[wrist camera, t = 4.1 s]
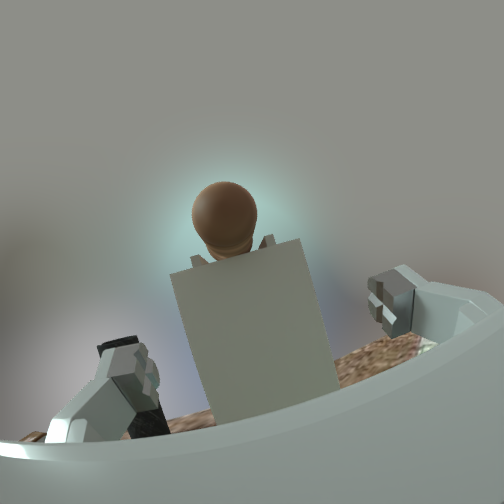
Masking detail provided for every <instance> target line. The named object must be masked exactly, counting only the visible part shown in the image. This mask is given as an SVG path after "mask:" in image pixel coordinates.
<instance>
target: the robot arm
mask: <svg viewBox="0 0 504 504" xmlns="http://www.w3.org/2000/svg"><path fill="white" fill-rule="evenodd" d="M368 289H369V290H370V291H371V294H370V296H369V297H368V306H369V310H370V313H371V315H372V317H373V318H374V320H375V321H376V322H379V323H382V329H383V330H384V331H385V332H386V333H387V335H388V336H389V337H390V338H391V339H393V338H396V337H398V336H401V335H403V334H405V333H408V332H410V331H411V332H412V333H414V334H417V335H419V336H421V337H424V338H426V339H429V340H431V341H433V342H436V343H438V344H439V345H437V346H436V347H434V348H432V349H430V350H428V351H426V352H424V353H422V354H420V355H418V356H416V357H414V358H412V359H410V360H408V361H406V362H404V363H402V364H400V365H397V366H395V367H393V368H391V369H389V370H386V371H384V372H382V373H380V374H377V375H375V376H373V377H370V378H368V379H365V380H363V381H360V382H358V383H355V384H353V385H350V386H348V387H345V388H343V389H340V390H337V391H335V392H332V393H329V394H326V395H323V396H321V397H318V398H315V399H312V400H309V401H306V402H303V403H300V404H297V405H294V406H290V407H287V408H284V409H280V410H277V411H274V412H270V413H267V414H263V415H259V416H255V417H252V418H248V419H244V420H240V421H236V422H231V423H227V424H222V425H218V426H213V427H208V428H203V429H198V430H193V431H187V432H181V433H175V434H169V435H162V436H154V437H147V438H138V439H128V440H120V439H121V437H122V436H123V434H124V433H125V431H126V430H127V428H128V426H129V425H130V423H131V422H132V420H133V419H134V417H135V415H136V414H137V413H136V412H142V411H148V410H153V409H158V400H159V394H158V392H157V391H156V389H157V388H158V386H159V383H160V378H159V373H158V369H157V367H156V364H155V363H154V361H153V360H152V359H150V358H148V350H147V348H146V346H145V345H144V344H143V343H136V344H131V345H126V346H121V347H117V348H111V349H106V350H104V351H103V353H102V356H101V359H100V362H99V366H98V369H97V372H96V375H95V379H94V380H92V381H90V382H89V383H88V384H87V385H86V386H85V387H84V388H83V389H82V390H81V391H80V392H79V393H78V394H77V395H76V396H75V397H74V398H73V399H72V400H71V401H70V402H69V403H68V404H67V405H66V406H65V407H64V408H63V409H62V410H61V411H60V412H59V413H58V414H57V415H56V416H55V417H54V418H53V419H52V420H51V423H50V427H49V430H48V433H47V436H46V440H45V443H42V442H21V441H7V440H0V504H504V305H503V304H501V303H500V302H499V301H497V300H496V299H495V298H493V297H492V296H491V295H489V294H488V293H487V292H484V291H479V290H474V289H468V288H463V287H458V286H453V285H447V284H443V283H438V282H430V283H429V282H428V281H426V280H425V279H424V278H422V277H421V276H420V275H418V274H417V273H416V272H414V271H413V270H412V269H410V268H409V267H408V266H406V265H400V266H398V267H395V268H393V269H391V270H388V271H386V272H383V273H380V274H378V275H375V276H372V277H370V278H369V279H368Z"/></svg>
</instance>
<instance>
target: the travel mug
mask: <svg viewBox="0 0 504 504" xmlns="http://www.w3.org/2000/svg"><path fill="white" fill-rule="evenodd" d="M136 343H139V341H138V338H137V336H136V335H135V336H129V337H124V338H120V339H116V340H112V341H108V342H105V343H103V344H102V345H98V346H97V349H98V352H99V355H100V359H101V356H102V353H103V351H104V350H106V349H111V348H117V347H121V346H126V345H131V344H136ZM136 413H137V414H136V415H135V417H134V419H133V420H132V422H131V423H130V425H129V426H128V428H127V430H128V433H129V435H130V437H131V439H138V438H147V437H154V436H162V435H169V434H171V433H170V430H169V427H168V425H167V422H166V419H165V416H164V414H163V411H162V408H161V405H160V402H159V400H158V409H153V410H148V411H142V412H136Z"/></svg>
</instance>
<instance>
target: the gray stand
mask: <svg viewBox="0 0 504 504" xmlns="http://www.w3.org/2000/svg"><path fill="white" fill-rule="evenodd" d="M190 258H191V261H192V266H193V268H191V269H187V270H184V271H180V272H177V273H173V274H170V278H171V281H172V285H173V289H174V293H175V296H176V300H177V304H178V307H179V311H180V314H181V318H182V321H183V325H184V328H185V331H186V335H187V338H188V342H189V345H190V348H191V351H192V355H193V357H194V361H195V364H196V367H197V370H198V373H199V376H200V379H201V382H202V385H203V388H204V391H205V394H206V397H207V400H208V402H209V405H210V408H211V411H212V414H213V416H214V419H215V422H216V424H217V426H218V425H222V424H227V423H231V422H236V421H240V420H244V419H248V418H252V417H255V416H259V415H263V414H267V413H270V412H274V411H277V410H280V409H284V408H287V407H290V406H294V405H297V404H300V403H303V402H306V401H309V400H312V399H315V398H318V397H321V396H323V395H326V394H329V393H332V392H335V391H337V390H340V385H339V381H338V377H337V373H336V369H335V365H334V361H333V357H332V353H331V349H330V345H329V341H328V338H327V334H326V330H325V327H324V322H323V319H322V315H321V311H320V308H319V304H318V300H317V297H316V294H315V290H314V286H313V283H312V279H311V276H310V272H309V269H308V265H307V262H306V259H305V255H304V252H303V249H302V245H301V242H300V239H295V240H291V241H288V242H284V243H280V244H277V245H276V243H275V239H274V236H273V234H271V235H267V236H264V238H263V240H262V242H261V244H260V246H259V249H258V250H255V251H252V252H248V253H244V254H241V255H237V256H234V257H230V258H226V259H223V260H219V261H216V262H212V263H208V262H207V261H206V260H205V259H203V258H202V257H201V256H200V255H195V256H192V257H190Z"/></svg>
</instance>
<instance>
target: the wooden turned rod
mask: <svg viewBox="0 0 504 504" xmlns="http://www.w3.org/2000/svg"><path fill="white" fill-rule="evenodd" d="M192 220H193V225H194V227H195V230H196V231H197V233H198V234H199V236H200V237H201V238H202V240H203V241H204V243H205V244H206V246H207V249H208V251H209V253H210V255H211V256H212V257H213V258H214V259H216V260H217V261H219V260H223V259H226V258H230V257H234V256H237V255H241V254H244V253H248V252H250V250H251V248H252V243H253V238H252V236H253V233H254V229H255V225H256V221H257V208H256V204H255V201H254V199H253V197H252V196H251V194H250V193H249V192H248V191H247V190H246V189H245V188H243V187H241V186H240V185H238V184H235V183H231V182H217V183H214V184H211V185H209V186H208V187H206V188H205V189H204V190H203V191H201V192H200V194H199V195H198V196H197V198H196V200H195V202H194V204H193V208H192Z"/></svg>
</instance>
